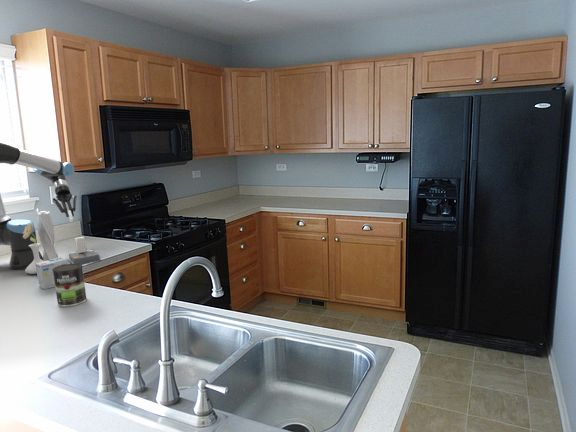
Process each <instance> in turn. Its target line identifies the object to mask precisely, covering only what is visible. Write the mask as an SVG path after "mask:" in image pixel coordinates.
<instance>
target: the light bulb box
mask: <svg viewBox="0 0 576 432" xmlns="http://www.w3.org/2000/svg"><path fill="white" fill-rule="evenodd" d="M65 264H68V262H67V260H66V258H62V257H59V256H58V258H56V259H52V260H48V261H44V262H40V263H35V265H36V270H37V274H36V275H37V280H38V287H39V288H41V289H43V290H47V289H50V288H53V287H55V282H54V275H53V271H52V269H53V268H55V267H57V266H61V265H65Z"/></svg>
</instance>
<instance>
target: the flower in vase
mask: <svg viewBox="0 0 576 432" xmlns="http://www.w3.org/2000/svg"><path fill="white" fill-rule="evenodd" d="M32 229H33V224H32V223H30V224H29V223H28V225H27V227H26V226H25V229H24V232H23V234H24V235H23V238H24V239H26V238H28V237H29V235H30V234H32V235H33V233H32ZM33 236H34V235H33ZM34 238H35V236H34ZM34 238H32V237H31V238H30V240H31V241H33V242H34V244H31V245H29V247H30V248H31V249H32V251H33V254H34V260H33V262H32V263H31V264H30V265H29V266H28V267H27V268H26V269H24V272H25V273H26V274H29V275H35V274H36V275H37V270H36V265H35V263H40V262H44V261H43V260H41V259H40V257H39V251H40V246H41V242H40V243H38V242H37V243H36V239H37V238H36V239H34Z"/></svg>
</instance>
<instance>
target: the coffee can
mask: <svg viewBox="0 0 576 432" xmlns="http://www.w3.org/2000/svg"><path fill="white" fill-rule="evenodd" d="M52 271H53V275H54V282H55V293H56V295H55V296H56V299H57V306H58V307H62V308H68V307H75V306H78V305H81V304H83V303H85V302H86V301H87V299H88V298H87V293H86V287H85V286H86V285H85V276H84V269H83V263H82V264H78V263H67V264H65V265H61V266H57V267H55V268H53V269H52Z"/></svg>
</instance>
